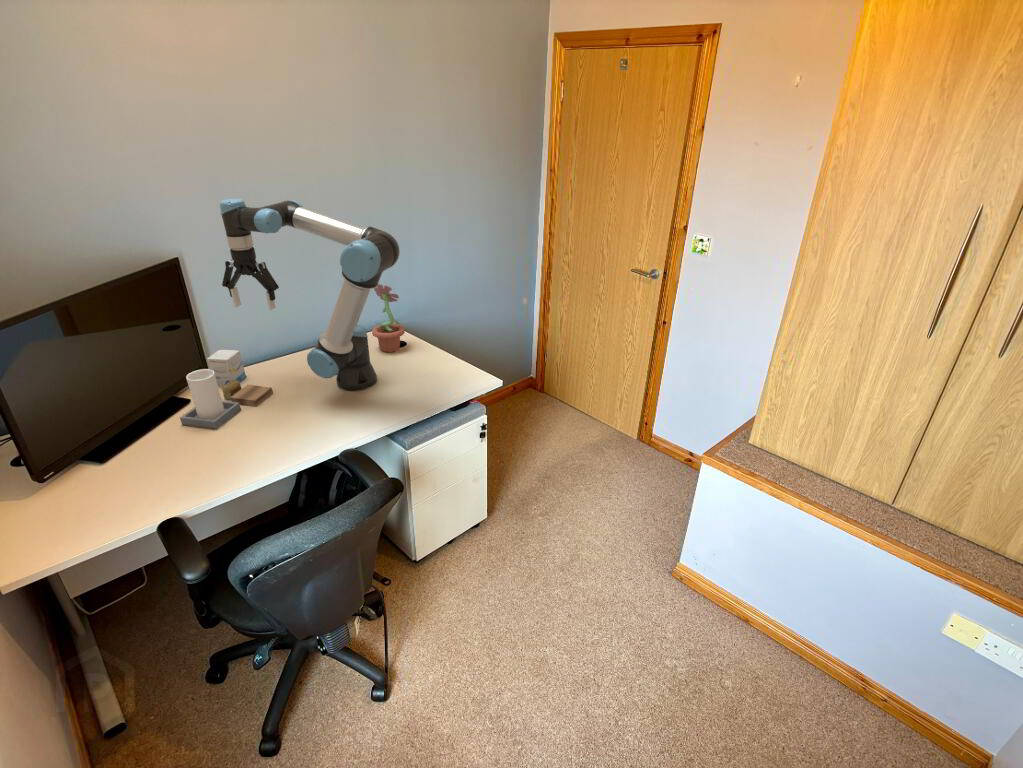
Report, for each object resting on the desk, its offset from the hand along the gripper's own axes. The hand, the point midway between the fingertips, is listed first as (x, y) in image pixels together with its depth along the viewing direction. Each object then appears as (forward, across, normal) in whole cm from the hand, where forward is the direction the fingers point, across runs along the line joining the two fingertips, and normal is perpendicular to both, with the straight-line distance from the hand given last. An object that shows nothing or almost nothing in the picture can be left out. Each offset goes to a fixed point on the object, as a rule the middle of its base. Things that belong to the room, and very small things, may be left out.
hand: (255, 307), depth 192 cm
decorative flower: (+32, -31, -42) cm, 61 cm away
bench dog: (+32, +10, +10) cm, 35 cm away
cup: (+31, +7, +25) cm, 41 cm away
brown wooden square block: (+32, +2, +10) cm, 34 cm away
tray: (+32, +7, +25) cm, 41 cm away
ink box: (+32, +18, 0) cm, 37 cm away
